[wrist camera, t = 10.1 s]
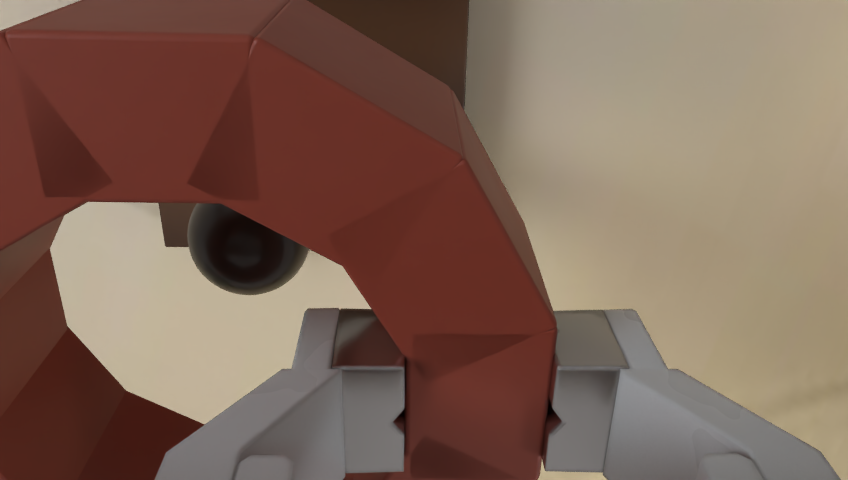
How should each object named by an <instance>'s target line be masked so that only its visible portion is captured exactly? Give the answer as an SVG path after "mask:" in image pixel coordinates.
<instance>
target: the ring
mask: <svg viewBox="0 0 848 480" xmlns="http://www.w3.org/2000/svg"><path fill="white" fill-rule="evenodd" d="M87 202H146V203H212V204H223V205H225V206H227V207H228V208H230V209H232V210H234V211H236V212H238V213H240V214H242V215H244V216H246V217H248V218H250V219H252V220H254V221H256V222H258V223H260V224H262V225H264V226H266V227H267V228H269V229H271V230H273V231H275V232H277V233H279V234H281V235H283V236H285V237H287V238H289V239H291V240H293V241H295V242H297V243H299V244H301V245H303V246H305V247H306V248H308V249H310V250H312V251H314V252H316V253H318V254H320V255H322V256H324V257H326V258H328V259H330V260H332V261H334V262H336V263H338V264H340V265H342V266H343V267H344V269H345V270H346V272H347V273H348V275H349V276H350V278H351V279H352V281H353V282H354V284H355V285H356V287H357V288H358V290H359V291H360V292H361V294H362V295H363V297H364V298H365V300H366V301H367V303H368V304H369V306H370V307H371V309H372V310H373V312H374V313H375V315H376V316H377V317H378V319H379V320H380V322H381V323H382V325H383V326H384V328H385V329H386V331H387V332H388V334H389V335H390V337H391V338H392V340H393V341H394V342H395V344H396V345H397V347H398V348H399V350H400V351H401V353H402V354H403V355H405V409H404V472H372V473H345V478H344V479H343V480H537V479H538V478H539V475H540V470H541V461H542V447H543V437H544V428H545V420H546V417H547V413H548V405H549V395H548V394H549V385H550V377H551V369H552V361H553V355H554V353H555V348H556V340H557V332H558V330H557V321H556V318H555V315H554V312H553V309H552V306H551V303H550V300H549V297H548V294H547V291H546V288H545V285H544V282H543V279H542V276H541V273H540V270H539V267H538V264H537V261H536V258H535V254H534V251H533V248H532V245H531V242H530V239H529V236H528V233H527V230H526V227H525V224H524V222H523V220H522V218H521V216H520V214H519V212H518V211H517V209H516V207H515V205H514V203H513V201H512V199H511V197H510V196H509V194H508V192H507V190H506V188H505V186H504V184H503V183H502V181H501V179H500V177H499V175H498V173H497V171H496V170H495V168H494V166H493V164H492V162H491V160H490V158H489V156H488V155H487V153H486V151H485V149H484V147H483V145H482V143H481V142H480V140H479V138H478V136H477V134H476V132H475V130H474V129H473V127H472V125H471V123H470V121H469V119H468V117H467V115H466V114H465V112H464V110H463V108H462V106H461V104H460V102H459V101H458V99H457V97H456V95H455V93H454V91H452V90H450V88H449V86H448V85H446V84H444V83H443V82H441V81H440V80H438V79H436V78H435V77H433V76H431V75H430V74H428V73H426V72H425V71H423V70H421V69H420V68H418V67H416V66H415V65H413V64H411V63H410V62H408V61H406V60H405V59H403V58H401V57H400V56H398V55H397V54H395V53H393V52H392V51H390V50H388V49H387V48H385V47H383V46H382V45H380V44H378V43H377V42H375V41H373V40H372V39H370V38H368V37H367V36H365V35H363V34H362V33H360V32H358V31H357V30H355V29H354V28H352V27H350V26H349V25H347V24H345V23H344V22H342V21H340V20H339V19H337V18H335V17H334V16H332V15H330V14H329V13H327V12H325V11H324V10H322V9H320V8H319V7H317V6H315V5H314V4H312V3H311V2H309V1H307V0H81V1H78V2H75V3H73V4H70V5H67V6H65V7H62V8H59V9H57V10H54V11H51V12H49V13H46V14H43V15H41V16H38V17H36V18H33V19H30V20H28V21H25V22H22V23H20V24H17V25H14V26H12V27H9V28H6V29H4V30H1V31H0V480H155V477H156V475H157V473H158V470H159V468H160V466H161V463H162V461H163V458H164V456H165V454H166V452H167V451H169V450H170V449H172V448H173V447H174V446H176V445H177V444H178V443H180V442H181V441H183V440H184V439H185V438H187V437H188V436H190V435H191V434H192V433H194V432H195V431H197V430H198V429H199V428H201V427H202V426H204V424H202V423H200V422H197V421H195V420H193V419H190V418H188V417H186V416H183V415H181V414H179V413H176V412H174V411H172V410H170V409H167V408H165V407H163V406H160V405H158V404H156V403H153V402H151V401H149V400H146V399H144V398H142V397H139V396H137V395H135V394H132V393H130V392H128V391H126V390H125V389H124V388H123V387H122V386H121V384H120V383H119V382H118V381H117V380H116V379H115V378H114V377H113V376H112V375H111V373H110V372H109V371H108V370H107V369H106V368H105V367H104V366H103V365H102V364H101V362H100V361H99V360H98V359H97V358H96V357H95V356H94V355H93V354H92V353H91V352H90V350H89V349H88V348H87V347H86V346H85V345H84V344H83V343H82V342H81V341H80V339H79V338H78V337H77V336H76V335H75V334H74V333H73V332H72V331H71V330H70V328H69V327H68V326H67V323H66V319H65V314H64V310H63V306H62V301H61V297H60V292H59V288H58V283H57V279H56V274H55V270H54V266H53V261H52V257H51V252H50V247H51V245H52V242H53V240H54V238H55V235H56V233H57V231H58V228H59V226H60V224H61V222H62V219H63V217H64V215H65V214H67V213H69V212H71V211H72V210H74V209H76V208H78V207H80V206H81V205H83V204H85V203H87Z"/></svg>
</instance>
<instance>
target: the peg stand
mask: <svg viewBox="0 0 848 480" xmlns="http://www.w3.org/2000/svg"><path fill="white" fill-rule="evenodd" d="M307 1H309V2H311V3H312V4H314V5H315V6H317V7H319V8H320V9H322V10H324V11H325V12H327V13H329V14H330V15H332V16H334V17H335V18H337V19H339V20H340V21H342V22H344V23H345V24H347V25H349V26H350V27H352V28H354V29H355V30H357V31H358V32H360V33H362V34H363V35H365V36H367V37H368V38H370V39H372V40H373V41H375V42H377V43H378V44H380V45H382V46H383V47H385V48H387V49H388V50H390V51H392V52H393V53H395V54H397V55H398V56H400V57H401V58H403V59H405V60H406V61H408V62H410V63H411V64H413V65H415V66H416V67H418V68H420V69H421V70H423V71H425V72H426V73H428V74H430V75H431V76H433V77H435V78H436V79H438V80H440V81H441V82H443V83H444V84H446V85H448V86H449V88H450V90H452V91H454V93H455V95H456V97H457V99H458V101H459V102H460V104H461V106H462V108H463V110H464V104H465V82H466V59H467V37H468V15H469V0H307ZM159 209H160V215H161V222H162V228H163V235H164V241H165V246H166V247H189V250H190V253H191V256H192V259H193V261H194V262H195V264H196V266H197V268H198V269H199V270H200V272H201V273H202V274H203V275H204V276H205V277H206V278H207V279H208V280H209V281H210V282H212V283H213V284H214V285H216V286H218V287H220V288H221V289H224V290H226V291H229V292H232V293H236V294H242V295H257V294H263V293H266V292H270V291H273V290H275V289H277V288H279V287H281V286H282V285H284V284H285V283H287V282H288V281H289V280H290V279H292V278H293V277H294V276H295V275H296V273H297V272H298V271H299V269H300V268H301V267H302V265H303V263H304V261H305V259H306V257H307V254H308V251H309V249H308V248H306V247H305V246H303V245H301V244H299V243H297V242H295V241H293V240H291V239H289V238H287V237H285V236H283V235H281V234H279V233H277V232H275V231H273V230H271V229H269V228H267V227H266V226H264V225H262V224H260V223H258V222H256V221H254V220H252V219H250V218H248V217H246V216H244V215H242V214H240V213H238V212H236V211H234V210H232V209H230V208H228V207H227V206H225V205H223V204H212V203H159Z"/></svg>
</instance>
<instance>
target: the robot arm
mask: <svg viewBox="0 0 848 480" xmlns="http://www.w3.org/2000/svg"><path fill="white" fill-rule="evenodd" d="M553 312H554V315H555V318H556V321H557V330H558V332H557V340H556V348H555V353H554V355H553V361H552V369H551V377H550V385H549V394H548V395H549V405H548V413H547V417H546V420H545V428H544V437H543V447H542V460H543V464H544V468H545V471H565V472H603V476H604V477H605V478H606V479H608V480H841V479H840V478H839V476H838V475H837V474H836V472H835V471H834V470H833V468H832V467H831V465H830V464H829V463H828V461H827V460H826V458H825V457H824V456H823V454H822V453H821V452H820V451H819V450H817V449H815V448H814V447H812V446H810V445H808V444H807V443H805V442H803V441H801V440H800V439H798V438H796V437H794V436H793V435H791V434H789V433H788V432H786V431H784V430H782V429H781V428H779V427H777V426H775V425H774V424H772V423H770V422H768V421H767V420H765V419H763V418H762V417H760V416H758V415H756V414H755V413H753V412H751V411H749V410H748V409H746V408H744V407H742V406H741V405H739V404H737V403H736V402H734V401H732V400H730V399H729V398H727V397H725V396H723V395H722V394H720V393H718V392H716V391H715V390H713V389H711V388H710V387H708V386H706V385H704V384H703V383H701V382H699V381H697V380H696V379H694V378H692V377H690V376H689V375H687V374H685V373H684V372H682V371H680V370H678V369H668V368H667V366H666V364H665V363H664V361H663V359H662V357H661V355H660V353H659V352H658V350H657V348H656V346H655V344H654V342H653V341H652V339H651V337H650V335H649V333H648V332H647V330H646V328H645V326H644V324H643V322H642V321H641V319H640V317H639V315H638V313H637V312H636V311H635V310H633V309H611V310H572V311H553ZM404 409H405V355H403V354H402V353H401V351H400V350H399V348H398V347H397V345H396V344H395V342H394V341H393V340H392V338H391V337H390V335H389V334H388V332H387V331H386V329H385V328H384V326H383V325H382V323H381V322H380V320H379V319H378V317H377V316H376V315H375V313H374V312H373V310H372V309H341V310H339V308H308V309H307V310H306V311H305V313H304V317H303V322H302V326H301V330H300V335H299V339H298V343H297V348H296V352H295V356H294V361H293V365H292V369H282V370H280V371H279V372H277V373H276V374H275V375H273V376H272V377H270V378H269V379H268V380H266V381H265V382H264V383H262V384H261V385H259V386H258V387H257V388H255V389H254V390H252V391H251V392H250V393H248V394H247V395H245V396H244V397H243V398H241V399H240V400H238V401H237V402H236V403H234V404H233V405H231V406H230V407H229V408H227V409H226V410H224V411H223V412H222V413H220V414H219V415H218V416H216V417H215V418H213V419H212V420H211V421H209V422H208V423H206V424H205V425H204V426H202V427H201V428H199V429H198V430H197V431H195V432H194V433H192V434H191V435H190V436H188V437H187V438H185V439H184V440H183V441H181V442H180V443H178V444H177V445H176V446H174V447H173V448H172V449H170V450H169V451H167V452H166V454H165V456H164V458H163V461H162V463H161V466H160V468H159V470H158V473H157V475H156V477H155V480H343V479H344V478H345V473H372V472H404Z"/></svg>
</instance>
